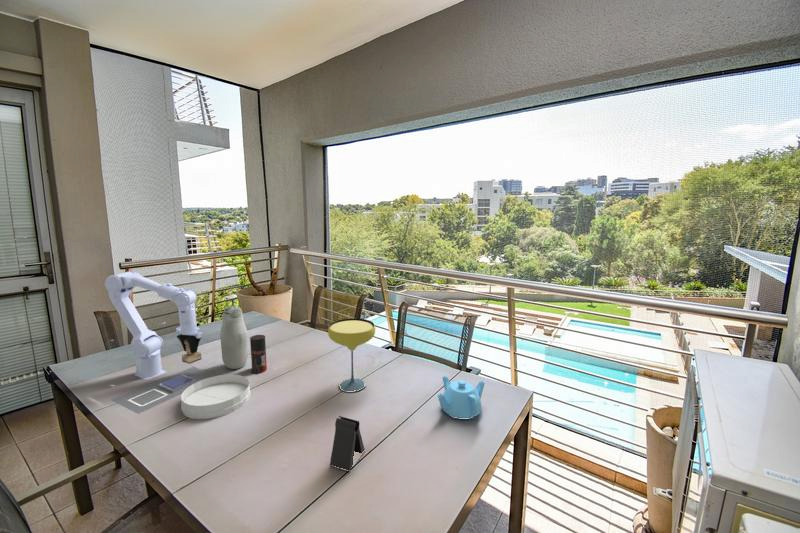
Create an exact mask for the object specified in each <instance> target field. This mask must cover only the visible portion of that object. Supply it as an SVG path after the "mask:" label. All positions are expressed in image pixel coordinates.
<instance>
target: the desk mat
mask: <svg viewBox="0 0 800 533" xmlns="http://www.w3.org/2000/svg"><path fill="white" fill-rule="evenodd" d="M180 375H185V376H188V377H190V378H193V379H196V382H199V381H201V380H204V379H207V378H210V377H214V376H220V375H219V374H216V373H213V372H211V371H207V370H204V369H202V368H200V367H199V368H198V367H196V366H192V367H189V368H187V369H184V370H181V371H179V372H176V373H173V374H171V375H170V376H167V377H164V378H161V379H160V380H157V381H155V382H152V383H150V384H147V385H143V386H142V387H140V388H137V389H135V390H131V391H129V392H126V393H125V394H121V395H120V396H117V397H115V398H112V399H111V401H112V402H114V403H117V404H119V405H120V406H123V407H125V408H126V409H129V410H131V411H132V412H135V413H136V414H141V413H143V412H145V411H148V410H150V409H153V408H154V407H156V406H158V405H160V404H163V403H165V402H167V401H170V400H171V399H173V398H175V397H176V398H177V397H178V396H181V395H182V393H183V391H184V390H186V389H187V388H188V387H189V386H191V385H189V386H187V387H185V388H183V389H180V390H178V391H176V392H174V393H172V392H169V391H167V390H164V389H162V388H160V387H159V384H160V383H163V382H165V381H168V380H170V379H173V378H175V377H177V376H180Z"/></svg>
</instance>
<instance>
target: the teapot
mask: <svg viewBox="0 0 800 533" xmlns="http://www.w3.org/2000/svg"><path fill="white" fill-rule="evenodd" d="M442 383H443V387H444V392H443V393H441V392H440V393H438V394H437V398H438V402H439V405H440V408H441V409H442V410H443V411H444V413H445V412H446V413H447V414H449V415H451V416H453V417H457V418H471V417H474V416H476V415H477V416H478V415H479V414H482V399H481V398H482V395H483V391H484V387H485V384H486V383H485V381H483V380H481V381H479V382H478V383H477V385H476V386H475V387H474V385H473V384H472V383H470V382H468V381H465V380H462V379H461V380H456V381H452V382H451V381H450V379H449V378H448V376H446V375H444V376H442ZM446 413H445V414H446ZM447 414H446V415H447ZM449 415H448V416H449ZM477 416H476V417H477ZM474 418H475V417H474Z"/></svg>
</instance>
